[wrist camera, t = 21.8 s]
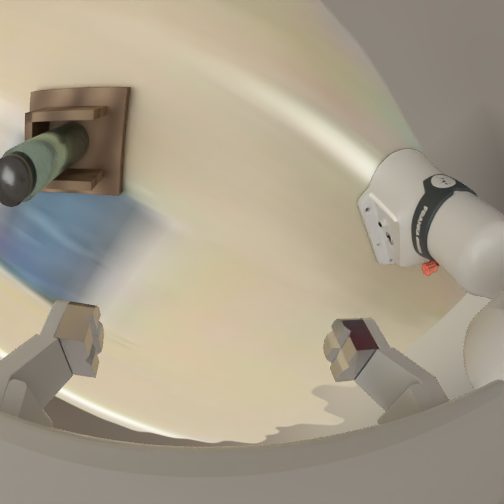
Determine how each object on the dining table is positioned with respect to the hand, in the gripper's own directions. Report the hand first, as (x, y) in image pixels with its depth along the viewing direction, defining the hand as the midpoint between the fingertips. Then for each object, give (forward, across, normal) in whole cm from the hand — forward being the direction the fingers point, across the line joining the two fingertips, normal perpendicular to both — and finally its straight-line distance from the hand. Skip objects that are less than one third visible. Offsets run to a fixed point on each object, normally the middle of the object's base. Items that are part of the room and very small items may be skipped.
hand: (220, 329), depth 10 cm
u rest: (+33, -19, -2) cm, 38 cm away
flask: (+32, -19, -2) cm, 37 cm away
